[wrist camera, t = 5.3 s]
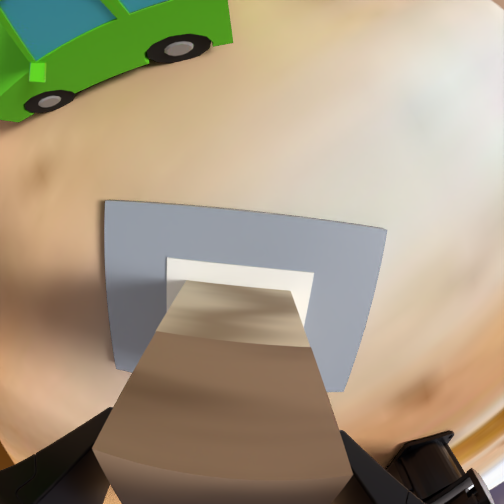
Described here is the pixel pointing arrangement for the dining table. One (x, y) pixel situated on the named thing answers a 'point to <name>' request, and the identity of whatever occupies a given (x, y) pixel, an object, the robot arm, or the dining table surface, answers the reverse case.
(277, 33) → the dining table surface
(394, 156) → the dining table surface
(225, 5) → the toy car
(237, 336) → the beech block
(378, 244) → the board
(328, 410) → the walnut block
